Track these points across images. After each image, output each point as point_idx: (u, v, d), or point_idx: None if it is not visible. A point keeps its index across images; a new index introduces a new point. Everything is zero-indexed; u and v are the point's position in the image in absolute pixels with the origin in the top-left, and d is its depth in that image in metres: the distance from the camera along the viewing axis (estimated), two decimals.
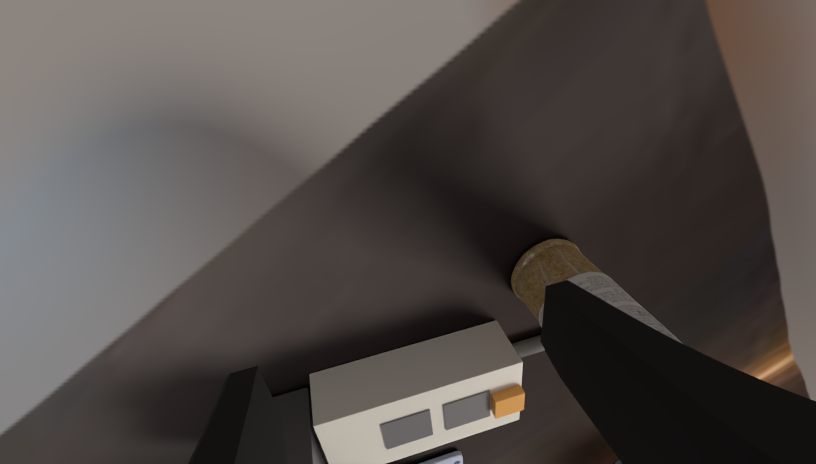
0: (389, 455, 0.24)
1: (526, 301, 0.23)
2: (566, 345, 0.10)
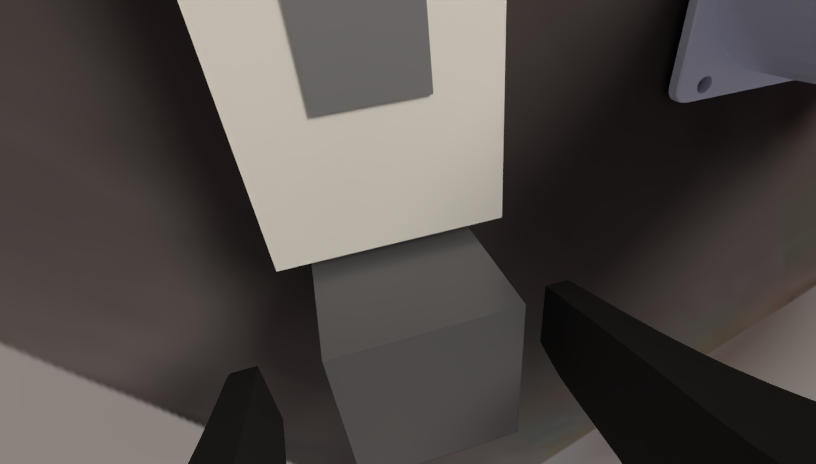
0: (471, 82, 0.08)
1: None
2: (566, 345, 0.10)
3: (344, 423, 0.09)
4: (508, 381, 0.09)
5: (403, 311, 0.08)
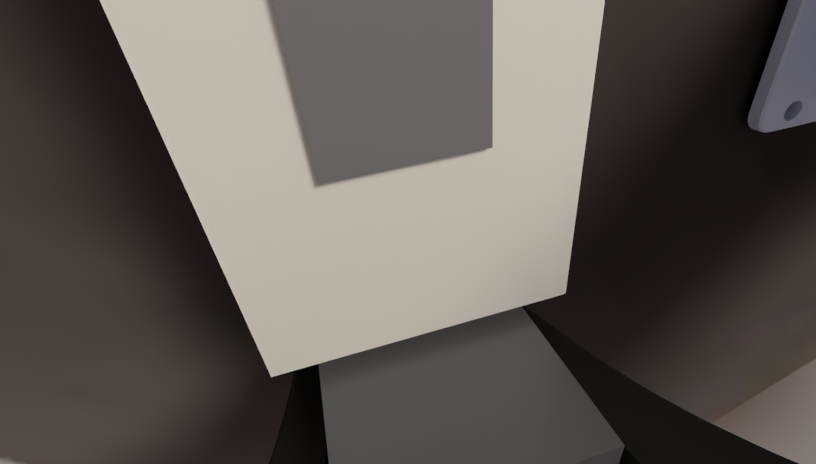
0: (543, 129, 0.06)
1: None
2: None
3: None
4: None
5: (450, 451, 0.06)
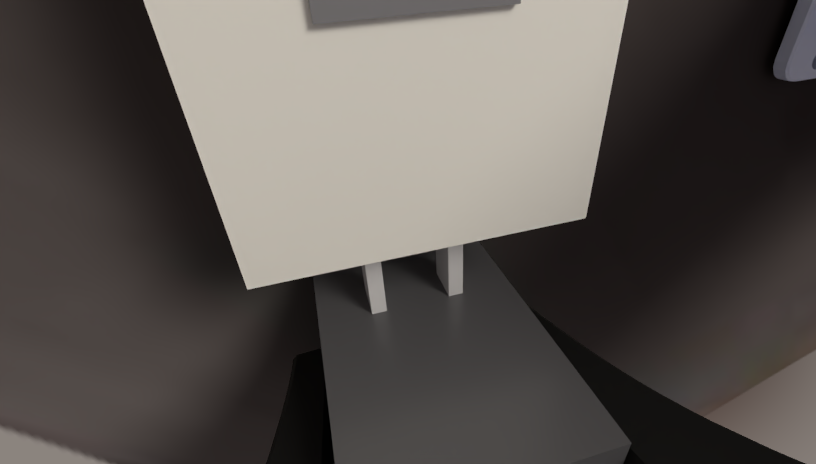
0: None
1: None
2: None
3: None
4: None
5: (456, 444, 0.06)
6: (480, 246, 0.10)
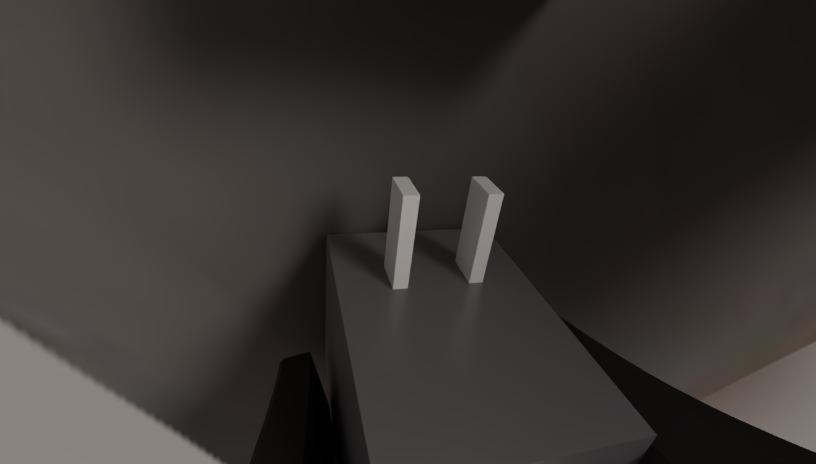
0: None
1: None
2: None
3: None
4: None
5: (487, 420, 0.06)
6: (496, 243, 0.10)
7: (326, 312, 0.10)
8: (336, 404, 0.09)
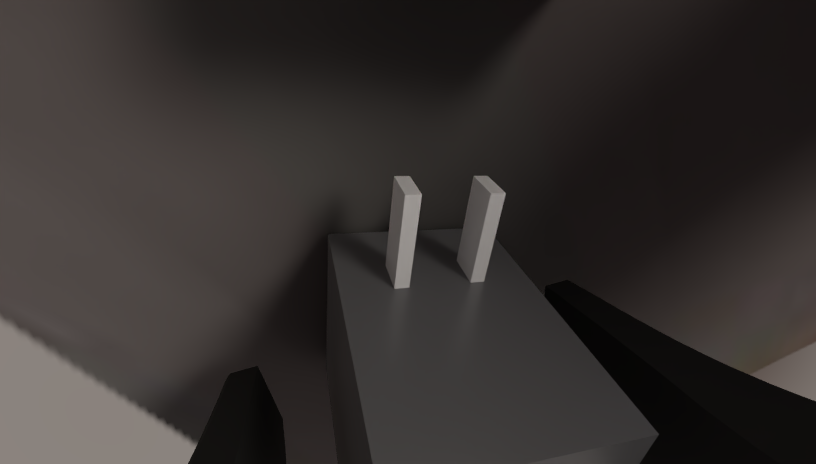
0: None
1: None
2: None
3: None
4: None
5: (489, 418, 0.06)
6: (497, 242, 0.10)
7: (327, 311, 0.10)
8: (337, 403, 0.09)
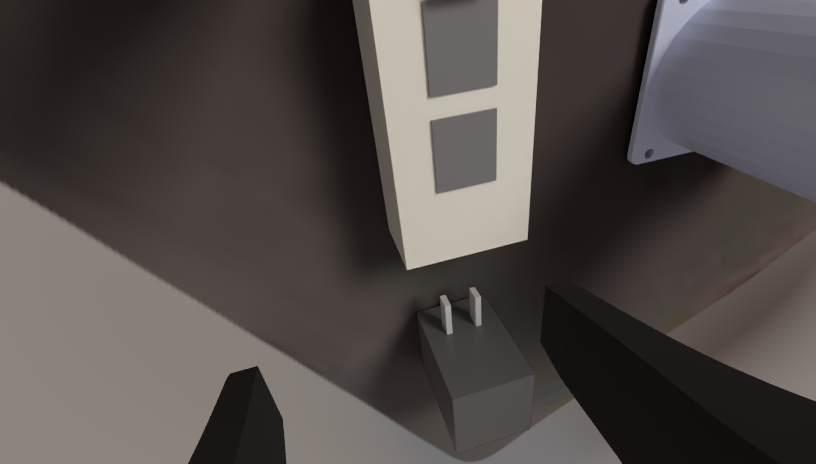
0: (514, 173, 0.16)
1: None
2: (566, 345, 0.10)
3: (455, 425, 0.19)
4: (526, 405, 0.20)
5: (482, 376, 0.19)
6: (487, 302, 0.23)
7: (420, 341, 0.24)
8: (433, 378, 0.23)
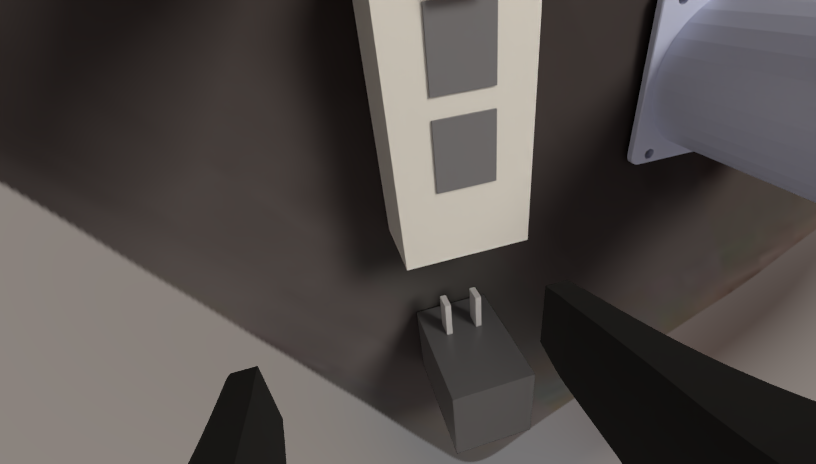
0: (514, 173, 0.16)
1: None
2: (566, 345, 0.10)
3: (455, 425, 0.19)
4: (526, 405, 0.20)
5: (482, 376, 0.19)
6: (488, 302, 0.23)
7: (420, 341, 0.24)
8: (433, 379, 0.23)
